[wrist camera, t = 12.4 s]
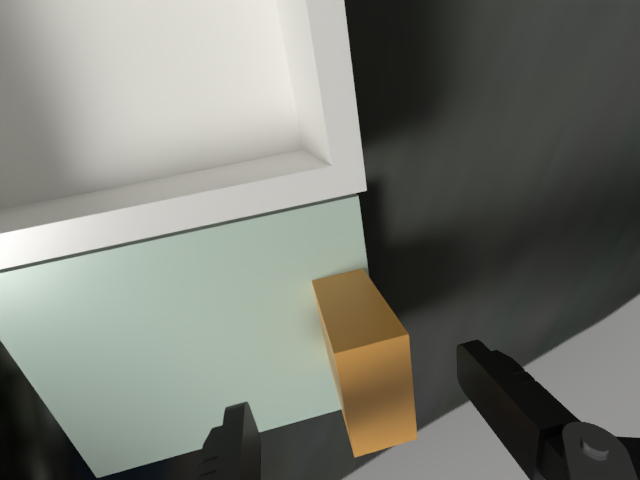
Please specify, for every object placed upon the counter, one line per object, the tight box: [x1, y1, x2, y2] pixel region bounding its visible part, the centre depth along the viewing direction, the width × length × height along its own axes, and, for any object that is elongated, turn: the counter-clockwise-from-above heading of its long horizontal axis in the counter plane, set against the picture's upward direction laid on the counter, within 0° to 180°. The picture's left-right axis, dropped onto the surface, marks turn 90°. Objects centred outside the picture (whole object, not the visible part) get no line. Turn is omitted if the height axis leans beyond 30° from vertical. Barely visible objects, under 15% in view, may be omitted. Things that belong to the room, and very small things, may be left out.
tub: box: [0, 0, 367, 269], centre depth 8 cm, size 15×11×7 cm
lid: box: [0, 193, 417, 478], centre depth 13 cm, size 16×12×7 cm
